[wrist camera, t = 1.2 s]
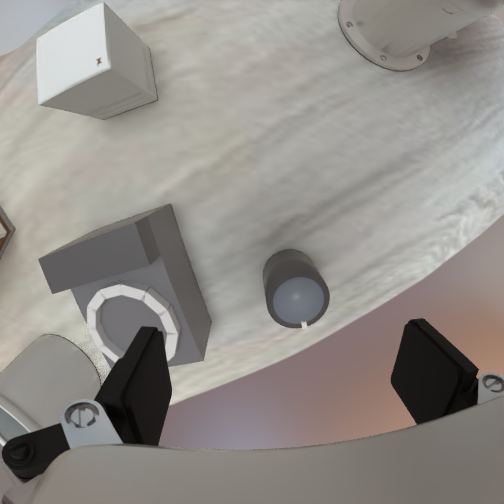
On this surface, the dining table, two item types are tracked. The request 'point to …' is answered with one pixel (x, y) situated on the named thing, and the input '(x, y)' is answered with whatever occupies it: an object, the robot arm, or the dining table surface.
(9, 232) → the slotted white tower
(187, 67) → the dining table surface
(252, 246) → the dining table surface
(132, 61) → the supplement box
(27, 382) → the utensil holder
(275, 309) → the lens
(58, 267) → the camera body
